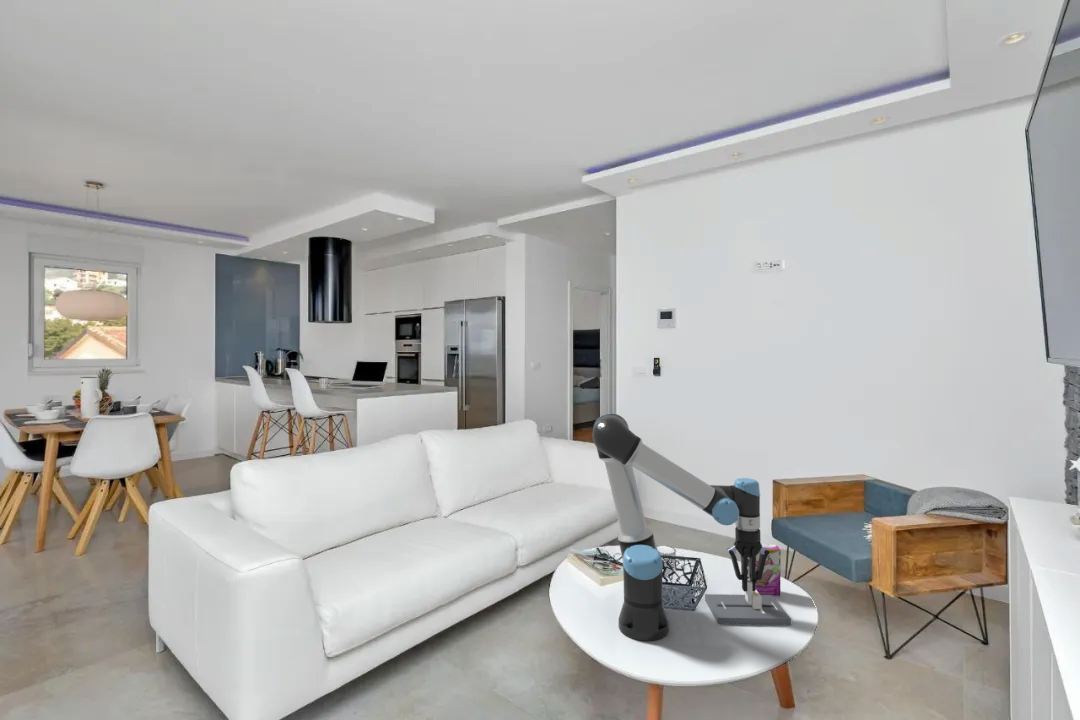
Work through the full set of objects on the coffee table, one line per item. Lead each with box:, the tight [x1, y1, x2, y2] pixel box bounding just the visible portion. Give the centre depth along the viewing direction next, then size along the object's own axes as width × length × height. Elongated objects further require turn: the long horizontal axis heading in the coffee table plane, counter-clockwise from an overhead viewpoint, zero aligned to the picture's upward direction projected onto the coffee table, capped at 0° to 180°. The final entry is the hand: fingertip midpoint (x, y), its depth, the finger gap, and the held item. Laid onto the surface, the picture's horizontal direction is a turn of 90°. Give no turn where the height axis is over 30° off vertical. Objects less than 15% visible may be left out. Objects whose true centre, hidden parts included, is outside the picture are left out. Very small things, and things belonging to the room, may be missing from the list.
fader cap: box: [750, 590, 762, 609], centre depth 170 cm, size 2×5×4 cm, turn 176°
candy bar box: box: [747, 543, 781, 597], centre depth 184 cm, size 11×5×16 cm, turn 84°
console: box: [704, 593, 792, 626], centre depth 171 cm, size 22×16×2 cm
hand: (748, 600), depth 171 cm, fingers closed
